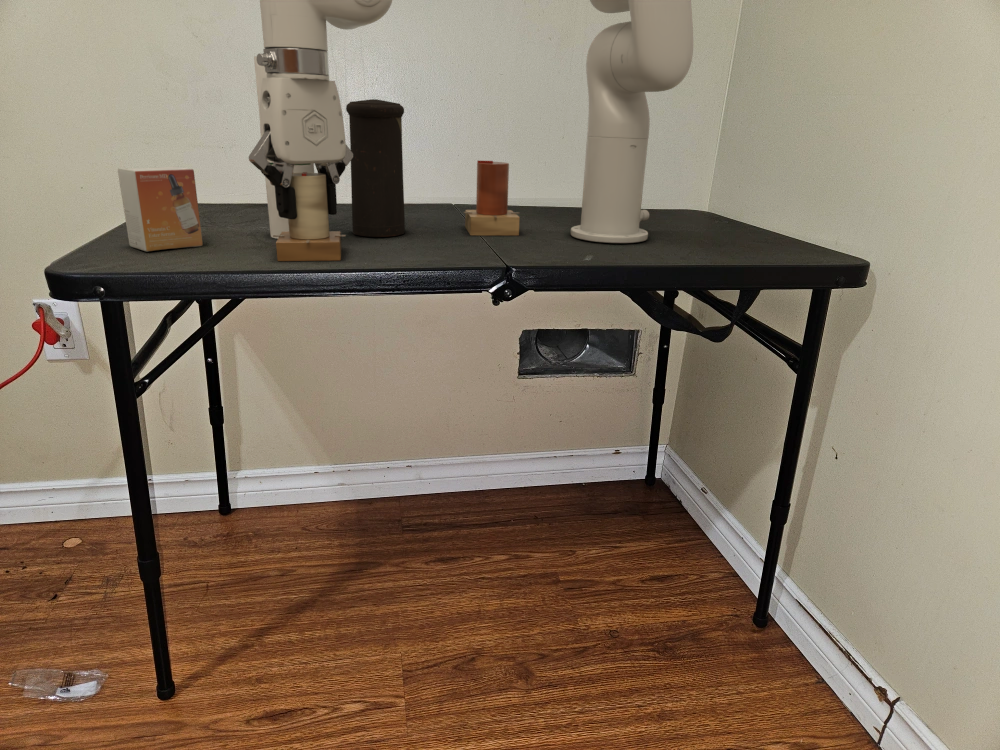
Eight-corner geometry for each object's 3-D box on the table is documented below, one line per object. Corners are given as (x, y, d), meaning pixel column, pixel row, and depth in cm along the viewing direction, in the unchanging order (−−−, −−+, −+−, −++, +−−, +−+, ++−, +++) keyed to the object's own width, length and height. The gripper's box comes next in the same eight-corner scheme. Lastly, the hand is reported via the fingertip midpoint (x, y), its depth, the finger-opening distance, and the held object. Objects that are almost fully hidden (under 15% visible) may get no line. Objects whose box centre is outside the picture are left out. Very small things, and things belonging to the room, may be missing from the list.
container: (416, 232, 111) (415, 100, 104) (386, 240, 104) (381, 99, 97) (372, 227, 115) (368, 99, 107) (339, 234, 107) (332, 97, 100)
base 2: (460, 226, 118) (460, 208, 117) (514, 226, 119) (514, 208, 118) (466, 236, 109) (466, 216, 108) (523, 236, 111) (524, 216, 110)
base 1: (278, 248, 96) (276, 229, 95) (346, 247, 98) (345, 229, 97) (271, 262, 87) (269, 241, 86) (346, 261, 89) (345, 241, 88)
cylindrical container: (324, 232, 108) (313, 60, 99) (308, 240, 102) (295, 56, 93) (281, 230, 109) (266, 59, 100) (262, 238, 102) (245, 55, 93)
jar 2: (505, 210, 116) (506, 160, 113) (509, 215, 111) (511, 162, 108) (474, 210, 115) (475, 159, 112) (477, 215, 110) (478, 161, 107)
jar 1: (291, 232, 93) (286, 169, 90) (330, 232, 94) (326, 170, 91) (288, 239, 89) (282, 173, 86) (329, 239, 90) (324, 174, 87)
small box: (145, 253, 90) (132, 170, 86) (128, 246, 94) (115, 167, 90) (204, 246, 96) (194, 168, 92) (186, 240, 99) (176, 165, 95)
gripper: (251, 61, 76) (267, 226, 82) (371, 70, 88) (376, 213, 95) (216, 62, 80) (233, 218, 87) (335, 71, 92) (342, 207, 99)
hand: (308, 214), depth 90 cm, fingers open, 5 cm apart
